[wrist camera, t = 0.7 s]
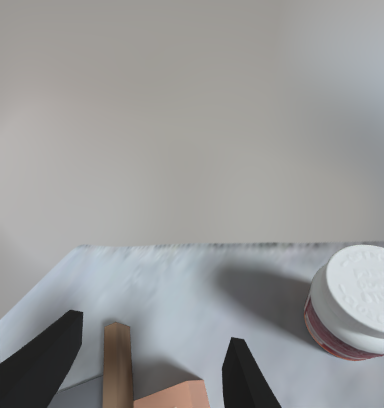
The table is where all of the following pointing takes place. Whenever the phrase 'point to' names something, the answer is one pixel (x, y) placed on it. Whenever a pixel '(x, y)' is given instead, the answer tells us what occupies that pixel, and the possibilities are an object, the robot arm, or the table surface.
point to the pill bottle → (349, 304)
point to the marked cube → (177, 397)
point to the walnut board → (117, 367)
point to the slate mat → (80, 396)
